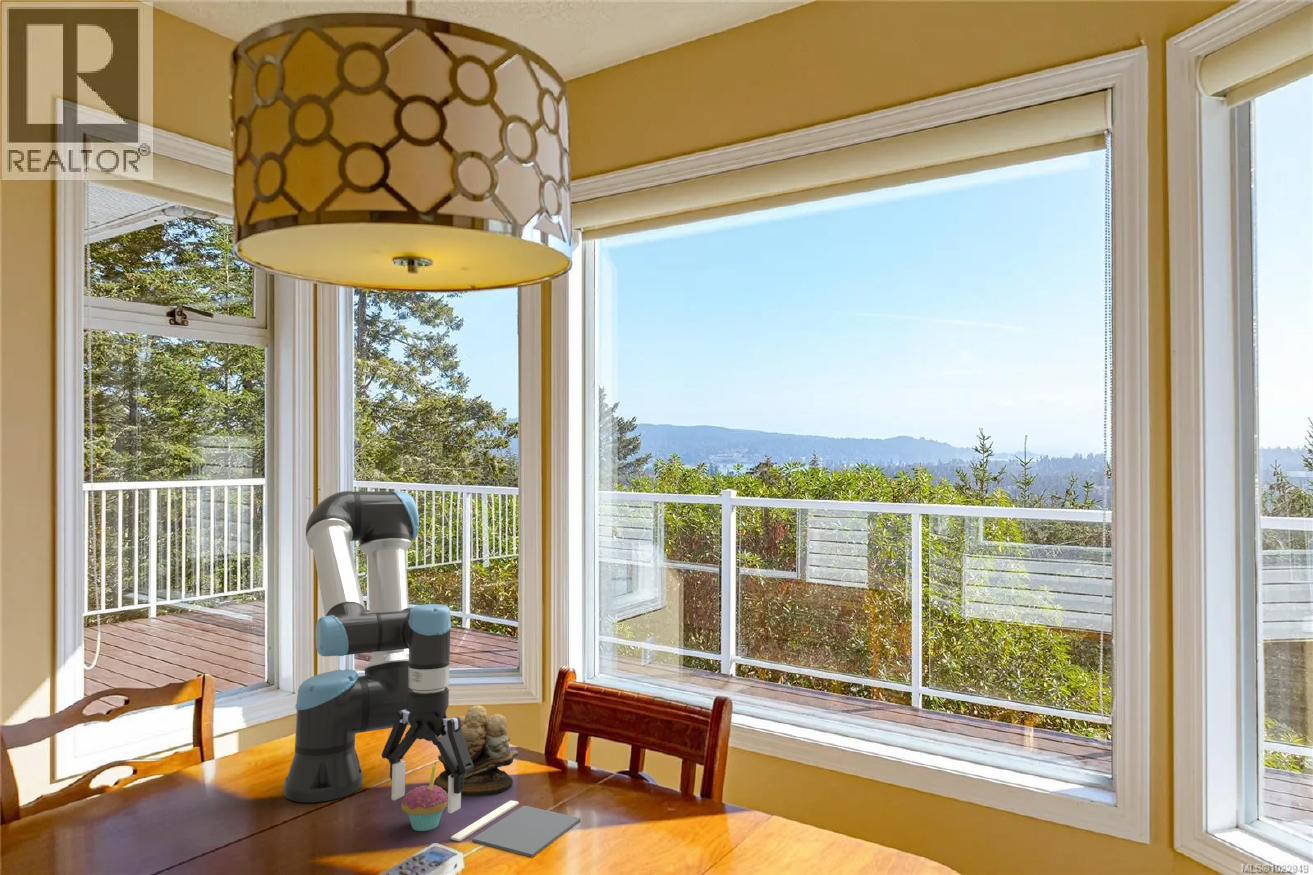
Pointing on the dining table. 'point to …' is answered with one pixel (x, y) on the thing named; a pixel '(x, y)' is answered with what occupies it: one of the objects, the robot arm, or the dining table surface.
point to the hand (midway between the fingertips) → (425, 804)
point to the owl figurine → (483, 754)
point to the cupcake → (425, 805)
